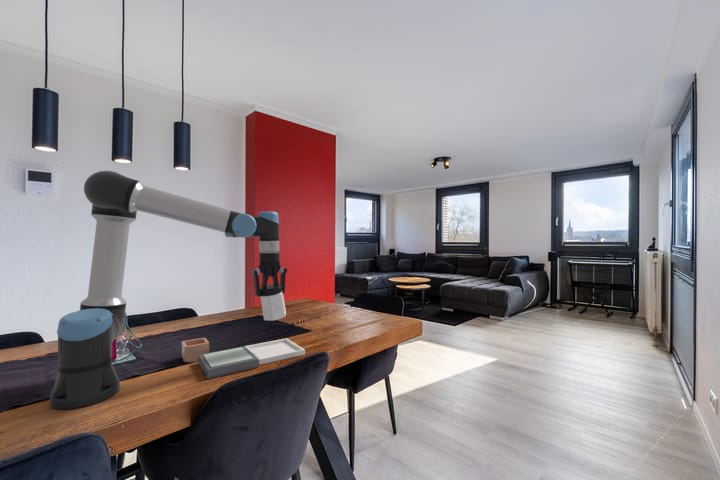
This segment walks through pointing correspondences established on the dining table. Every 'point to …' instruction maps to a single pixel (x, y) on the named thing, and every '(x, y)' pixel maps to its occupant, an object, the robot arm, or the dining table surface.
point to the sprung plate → (226, 357)
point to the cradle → (227, 366)
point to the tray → (275, 350)
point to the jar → (273, 302)
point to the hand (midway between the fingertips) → (270, 313)
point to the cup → (194, 349)
